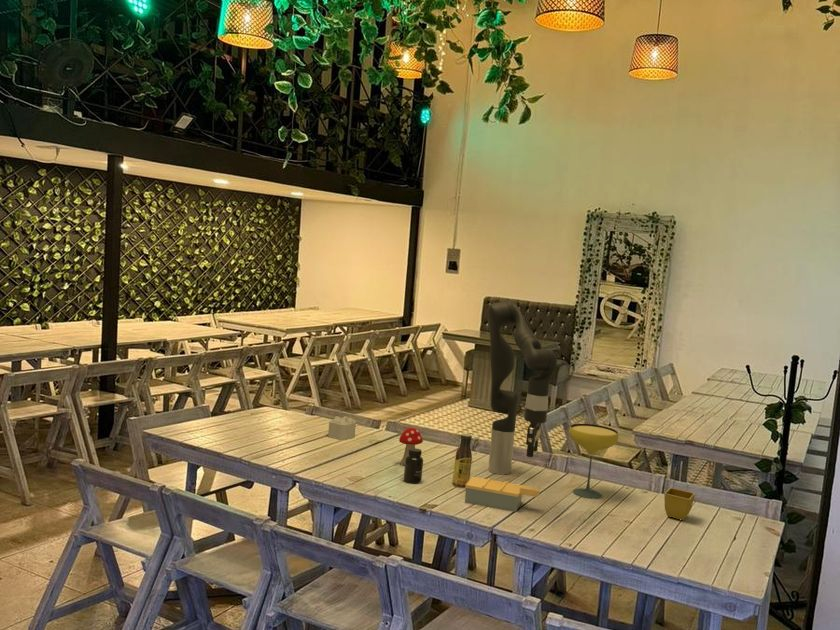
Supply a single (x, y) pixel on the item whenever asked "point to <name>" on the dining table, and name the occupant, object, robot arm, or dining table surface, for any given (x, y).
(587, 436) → the cocktail glass
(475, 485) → the lid
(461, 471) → the sauce bottle
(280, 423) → the dining table surface
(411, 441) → the decorative mushroom
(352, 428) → the grey studded block
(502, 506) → the tub
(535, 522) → the dining table surface
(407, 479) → the supplement bottle
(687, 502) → the flower pot
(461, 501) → the dining table surface
